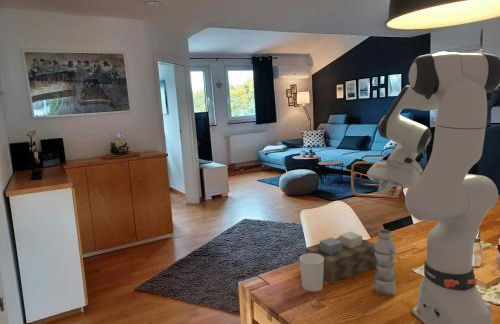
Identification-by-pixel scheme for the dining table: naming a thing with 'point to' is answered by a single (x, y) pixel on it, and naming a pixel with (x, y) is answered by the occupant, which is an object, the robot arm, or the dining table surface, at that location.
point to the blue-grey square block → (331, 246)
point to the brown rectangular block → (346, 261)
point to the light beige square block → (351, 239)
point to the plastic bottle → (385, 263)
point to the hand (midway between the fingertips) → (381, 191)
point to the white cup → (312, 271)
